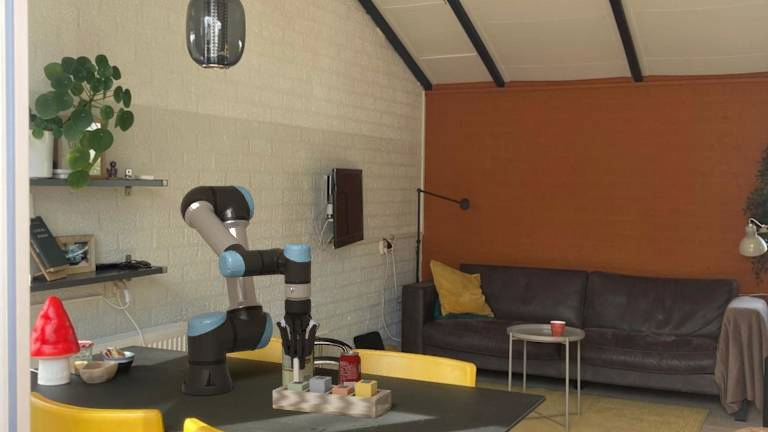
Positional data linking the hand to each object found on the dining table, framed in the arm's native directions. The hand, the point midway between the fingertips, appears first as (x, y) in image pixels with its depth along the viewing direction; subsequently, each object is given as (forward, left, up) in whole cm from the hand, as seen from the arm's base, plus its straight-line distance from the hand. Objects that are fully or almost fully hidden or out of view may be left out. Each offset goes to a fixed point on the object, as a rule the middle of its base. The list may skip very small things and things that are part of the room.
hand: (298, 380), depth 241 cm
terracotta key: (+14, 0, -6) cm, 15 cm away
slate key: (+7, 0, -4) cm, 8 cm away
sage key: (0, 0, -6) cm, 6 cm away
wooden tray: (+11, 0, -7) cm, 13 cm away
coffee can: (-10, +20, -7) cm, 24 cm away
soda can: (+8, +19, -7) cm, 22 cm away
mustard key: (+21, 0, -4) cm, 21 cm away
